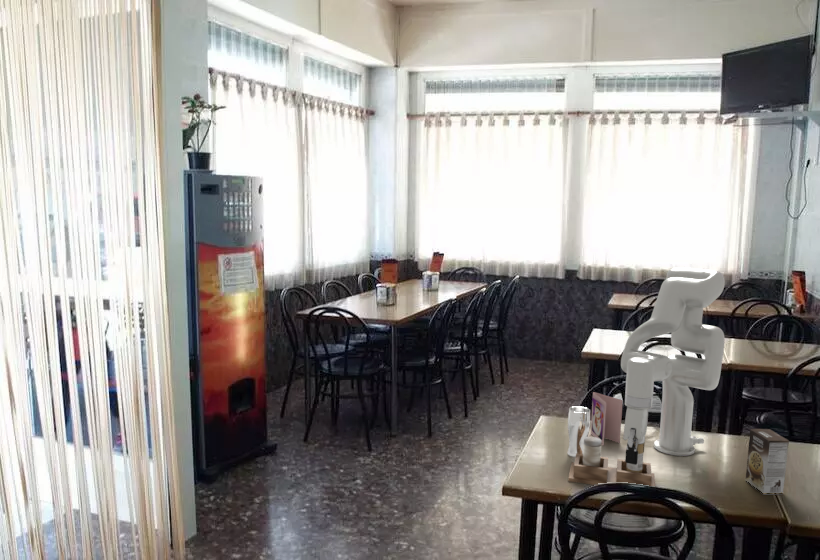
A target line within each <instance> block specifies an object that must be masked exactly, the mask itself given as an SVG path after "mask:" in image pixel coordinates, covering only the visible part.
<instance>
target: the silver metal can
mask: <svg viewBox="0 0 820 560" xmlns="http://www.w3.org/2000/svg"><path fill="white" fill-rule="evenodd" d="M567 416H568V417H567V431H568V440H569V441H568V442H569V445H568V449H567V455H568V456H569V457H571V458H574V457H575V458H576V453H577V454H583V448H584V438H585V437H589V434H590V431H591V409H589V408H588V407H584V406H580V405H579V406H570V407H569V409H568V415H567ZM575 458H574V459H575Z"/></svg>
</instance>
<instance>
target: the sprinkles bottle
mask: <svg viewBox="0 0 820 560" xmlns="http://www.w3.org/2000/svg"><path fill="white" fill-rule="evenodd" d="M635 434H636V433H635ZM645 439H646V435H645V436H644V437H643V440H642V441H641V442H640V443H638V447H637V451H638V459H637V464H636V465H635V464H630V463H627V470H626V471H630V472H637V473H642V467H643V462H644V453H645V451H644V452H643V448H644V449H645V444H644V442H645V441H646V440H645ZM634 440H637V439H634ZM645 443H646V442H645ZM633 444H634V445H635V444H636V443H633Z"/></svg>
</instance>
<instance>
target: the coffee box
mask: <svg viewBox="0 0 820 560" xmlns="http://www.w3.org/2000/svg"><path fill="white" fill-rule="evenodd" d="M789 444H790V440H789V439H788V438H785V437H784V436H782V435H780V434H778V433H777V432H776V431H774V430H772V429H771V428H751V429H749V439H748V450H747V460H746V461H747V462H746V472H745V482H746V481H747V482H746V483H748V482H749V483H750V484H751V485H750V484H749V483H748V484H749V485H750V486H752V485H753V486H754V487H755V488H754V487H753V486H752V487H753V488H754V489H756V488H757V489H758V490H760V491H761V492H762V493H781V492H782V493H783V494H784V489H785V478H786V471H787V461H788V455H789V453H788V452H789ZM757 489H756V490H757ZM758 490H757V491H758ZM761 492H760V493H761ZM762 493H761V494H762Z"/></svg>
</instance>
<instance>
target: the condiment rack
mask: <svg viewBox="0 0 820 560" xmlns="http://www.w3.org/2000/svg"><path fill="white" fill-rule="evenodd" d="M601 442H602V441H601V439H599V438H596V437H594V436H588V437H585V438H584V448H583V454H577V453H576V458H574V462H573V461H571V464H570V469H569V473H568V479H567V480H568V482H571V483H578V484H579V483H580V484H584V485H585V484H586V485H593V486H595V485H594V484H598V483H607V482H628V483H636V484H643V485H649V486H656V479H655V473H652V465H651V464H652V463H650V462H644V461H643V467H642V473H637V472H630V471H626V470H627V463H626V462H625V459H619V458H617V459H616V461H617V462H616V467H610V466H609V457H606V456H601V455H602V444H601Z"/></svg>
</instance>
